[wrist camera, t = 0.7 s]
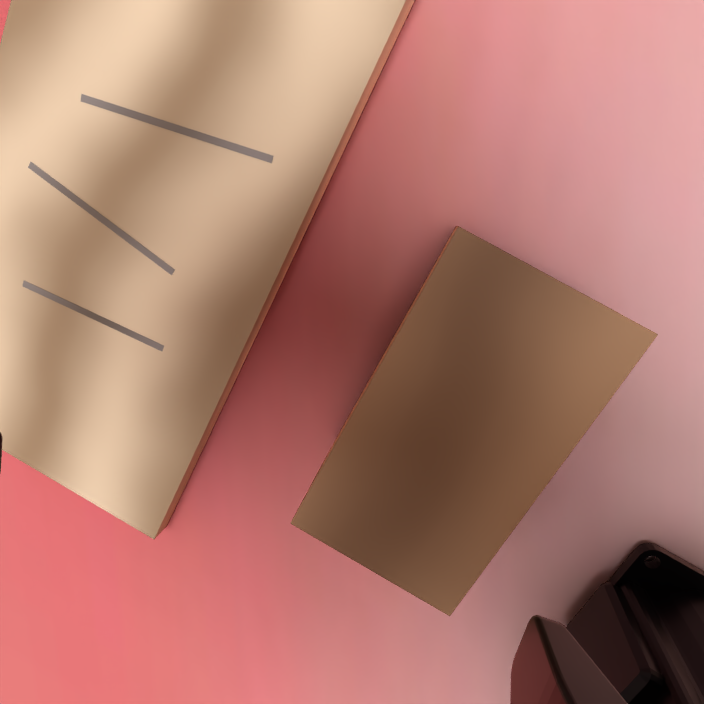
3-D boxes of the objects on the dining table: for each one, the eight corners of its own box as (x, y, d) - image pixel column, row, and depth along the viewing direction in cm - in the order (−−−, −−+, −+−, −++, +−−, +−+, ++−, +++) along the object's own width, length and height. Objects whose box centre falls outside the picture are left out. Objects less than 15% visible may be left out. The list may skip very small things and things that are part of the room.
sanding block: (588, 298, 17) (658, 334, 11) (450, 503, 20) (449, 616, 14) (455, 226, 17) (458, 226, 12) (336, 438, 20) (290, 523, 14)
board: (418, -8, 16) (416, -24, 15) (166, 525, 22) (153, 539, 21) (85, -181, 16) (62, -208, 15) (-67, 388, 23) (-90, 396, 22)
